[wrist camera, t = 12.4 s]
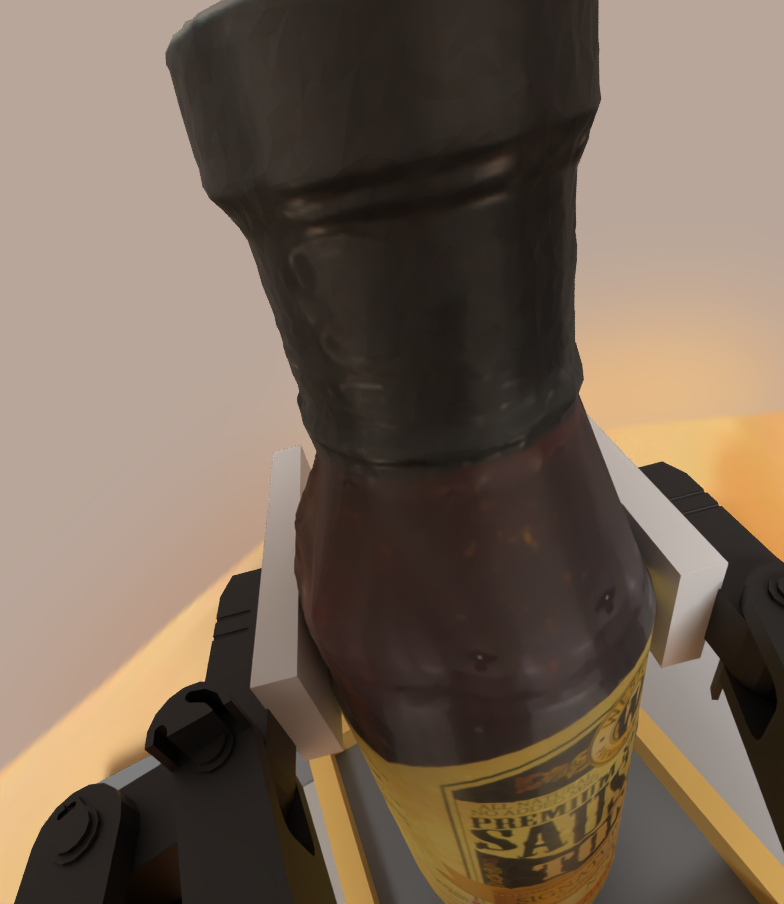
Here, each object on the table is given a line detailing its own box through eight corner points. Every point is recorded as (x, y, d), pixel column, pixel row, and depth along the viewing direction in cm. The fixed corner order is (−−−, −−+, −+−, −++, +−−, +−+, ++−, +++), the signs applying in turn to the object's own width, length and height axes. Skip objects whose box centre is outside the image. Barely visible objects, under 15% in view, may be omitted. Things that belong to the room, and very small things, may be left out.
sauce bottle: (540, 1026, 12) (-173, -611, 1) (375, 822, 16) (-107, 132, 5) (656, 796, 15) (903, -185, 4) (492, 675, 19) (369, 39, 8)
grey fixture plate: (651, 511, 28) (657, 472, 26) (1181, 883, 13) (1268, 851, 12) (97, 806, 21) (56, 780, 19) (-18, 2119, 7) (-204, 2440, 5)
